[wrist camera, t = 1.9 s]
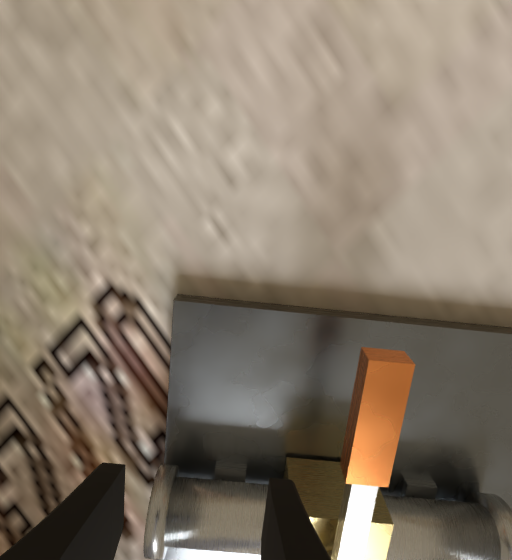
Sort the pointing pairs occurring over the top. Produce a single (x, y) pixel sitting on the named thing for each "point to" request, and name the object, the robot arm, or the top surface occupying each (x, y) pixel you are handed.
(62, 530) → the robot arm
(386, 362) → the lever
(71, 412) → the top surface
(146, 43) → the top surface
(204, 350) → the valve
